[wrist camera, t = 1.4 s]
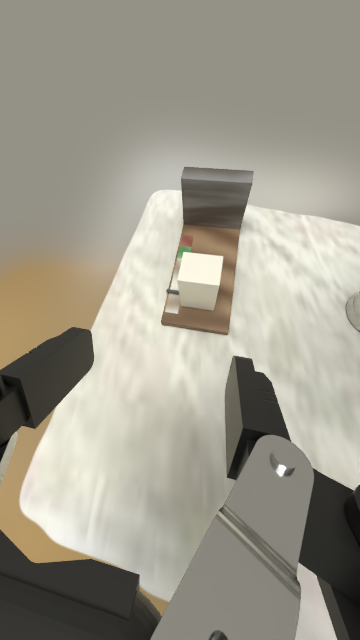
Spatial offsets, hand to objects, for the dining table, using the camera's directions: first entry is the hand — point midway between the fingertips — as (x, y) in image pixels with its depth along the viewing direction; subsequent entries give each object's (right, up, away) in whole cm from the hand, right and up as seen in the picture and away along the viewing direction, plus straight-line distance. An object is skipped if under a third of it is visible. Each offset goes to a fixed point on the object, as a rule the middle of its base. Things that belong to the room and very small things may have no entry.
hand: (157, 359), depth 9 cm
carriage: (+3, +7, +29) cm, 30 cm away
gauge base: (+6, +13, +33) cm, 36 cm away
